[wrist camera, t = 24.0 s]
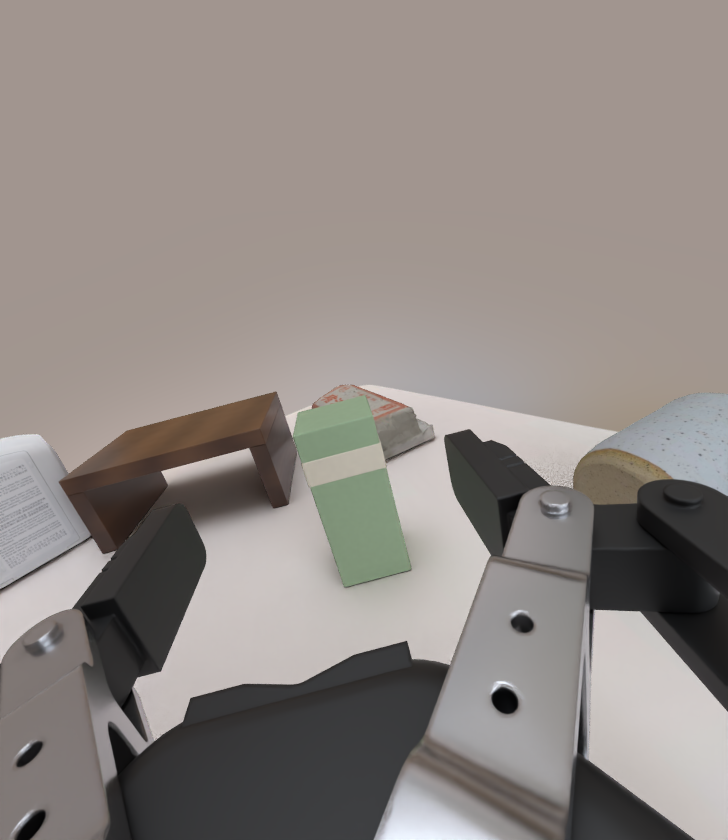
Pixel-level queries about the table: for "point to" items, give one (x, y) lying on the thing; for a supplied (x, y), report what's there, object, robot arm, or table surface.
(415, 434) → the packaged product
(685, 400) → the ceramic mug
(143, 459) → the shelf stand
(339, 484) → the box
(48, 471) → the photo printer
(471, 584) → the table surface
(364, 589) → the table surface
